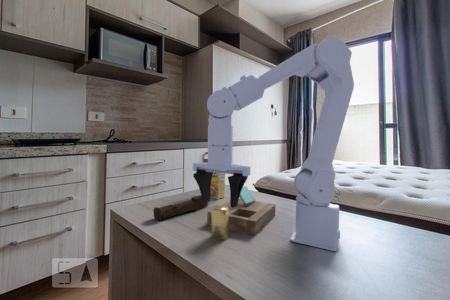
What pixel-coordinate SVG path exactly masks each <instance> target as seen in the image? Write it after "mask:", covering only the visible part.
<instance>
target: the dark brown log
mask: <svg viewBox="0 0 450 300" xmlns="http://www.w3.org/2000/svg"><path fill="white" fill-rule="evenodd" d="M208 205H209V201H207V202H203V200H202V196H201V194H200V195H196V196H192V197H191V198H190V199H189V200H185V201H181V202H177V203H174V204H168V205H165V206H161V207H154V208H153V218H154V220H156V221H158V222H160V221H162V220H166V219H167V218H170V217H173V216H177V215H180V214H181V215H182V214H183V213H184V214H185V213H188V212H191V211H192V212H193V211H194V212H198V211H201V210H203V209H205V208H207V207H208Z"/></svg>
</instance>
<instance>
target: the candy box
mask: <svg viewBox="0 0 450 300" xmlns="http://www.w3.org/2000/svg"><path fill="white" fill-rule="evenodd" d="M202 163H208V157H204V158H202ZM221 171H226V170H221ZM225 186H226V174H225V173H215V172H213V175H212V179H211V188H210V198H211V199H215V198H216V200H220V198H221V199H224V198H225V195H226V191H225V190H226V189H225V188H226V187H225ZM223 197H224V198H223Z"/></svg>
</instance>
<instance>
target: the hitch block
mask: <svg viewBox="0 0 450 300" xmlns="http://www.w3.org/2000/svg"><path fill="white" fill-rule="evenodd" d="M218 206H226V207H228V230H231V231H235V232H239V233H243V234H248V235H252V236H257V235H258V234H259V232H261V230H263V228H265V227H266V225H268V224H269V223H270V221H271V220H273V218H275V216H276V203H270V202H262V201H256V200H255V202H253V203H252V204H250V205H249V206H247V207H245V206H244V204H243V202H242V200H241V199H240V198H239V200H238V205H237V206H235V207H231V205H230V199H229V200H227V201H225V202H223V203H222V204H220V205H218ZM206 214H207V215H206V217H207V219H206V220H207V221H206V223H207V225H208V226H211V209H209V210H208V211H207V213H206Z"/></svg>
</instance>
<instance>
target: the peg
mask: <svg viewBox="0 0 450 300" xmlns="http://www.w3.org/2000/svg"><path fill="white" fill-rule="evenodd" d="M210 210H211V225H210V226H211V229H210V232H211V235H210V236H211V237H210V238H211V239H212V241H216V242H224V241H227V240H228V239H229V229H228V207H226V206H219V205H214V206H212V207H211V209H210Z"/></svg>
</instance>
